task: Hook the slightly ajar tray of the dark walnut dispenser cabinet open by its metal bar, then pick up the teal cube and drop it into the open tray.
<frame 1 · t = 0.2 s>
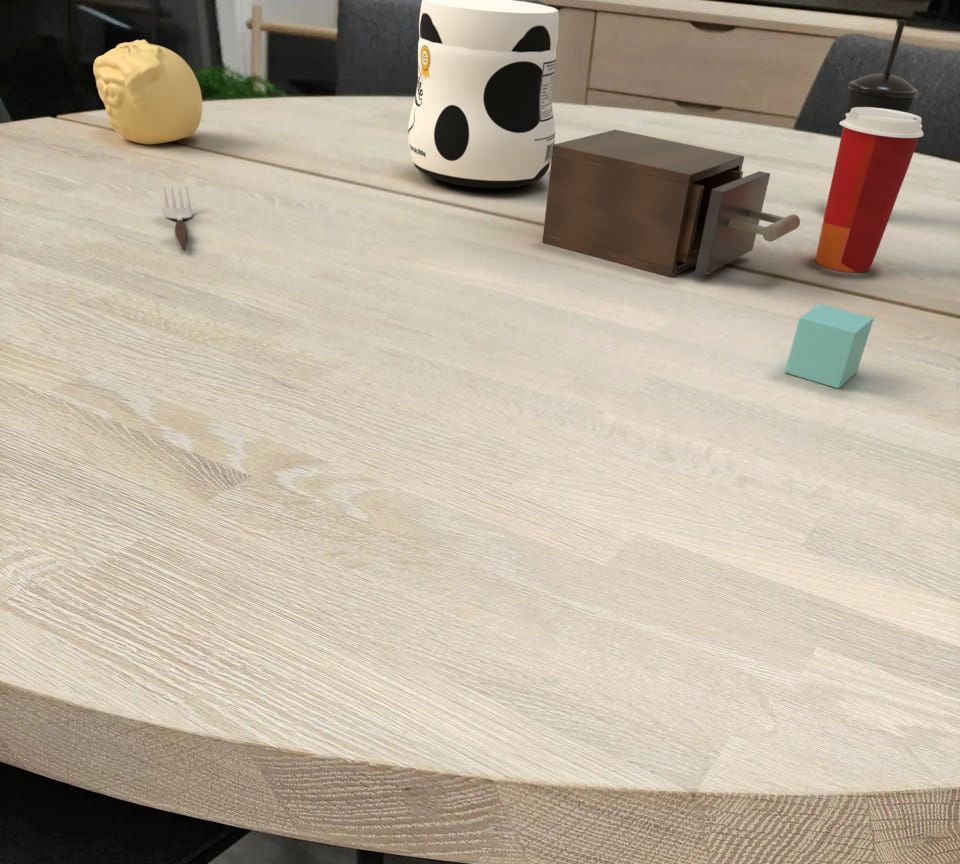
paper cup: (841, 265, 103), on the table
drinking cup: (847, 214, 121), on the table
sculpture: (155, 141, 124), on the table
fork: (181, 232, 95), on the table
milk container: (478, 181, 120), on the table
drawer: (698, 213, 97), point 5 cm above the table, slide at 2.0 cm
cabinet: (634, 246, 102), on the table
teal cube: (820, 372, 78), on the table
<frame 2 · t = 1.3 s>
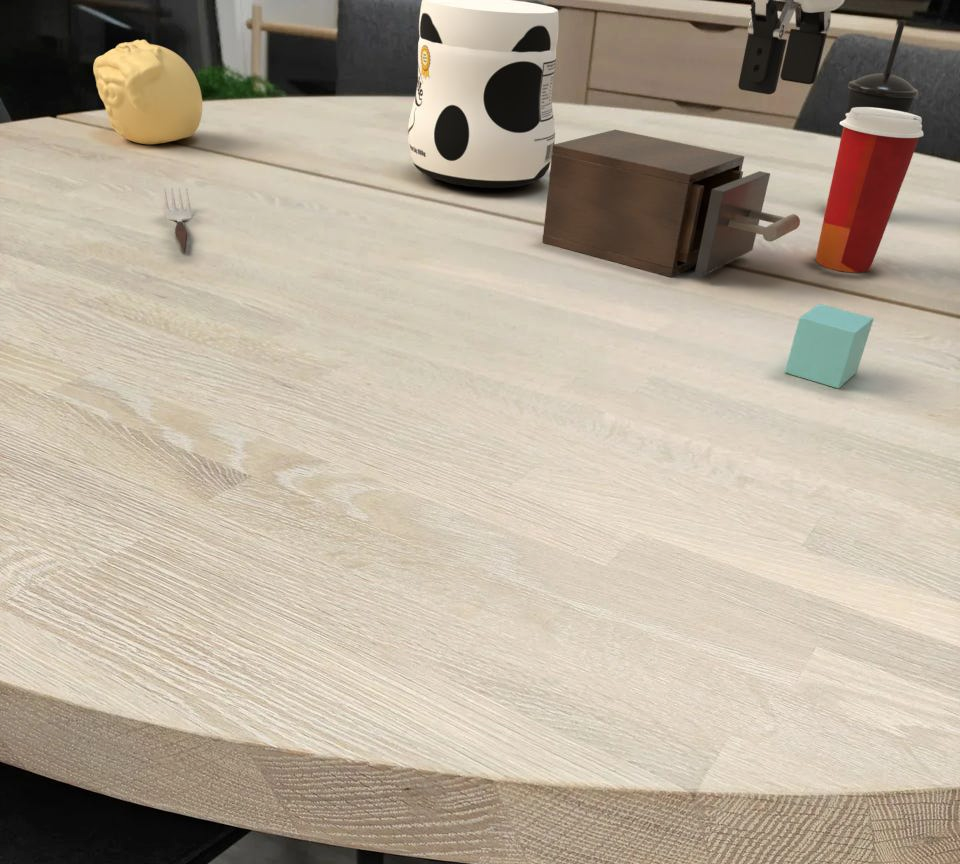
hand: (777, 86, 88), 16 cm above the table, tool pointing down, fingers open, 9 cm apart
nothing on the table moved.
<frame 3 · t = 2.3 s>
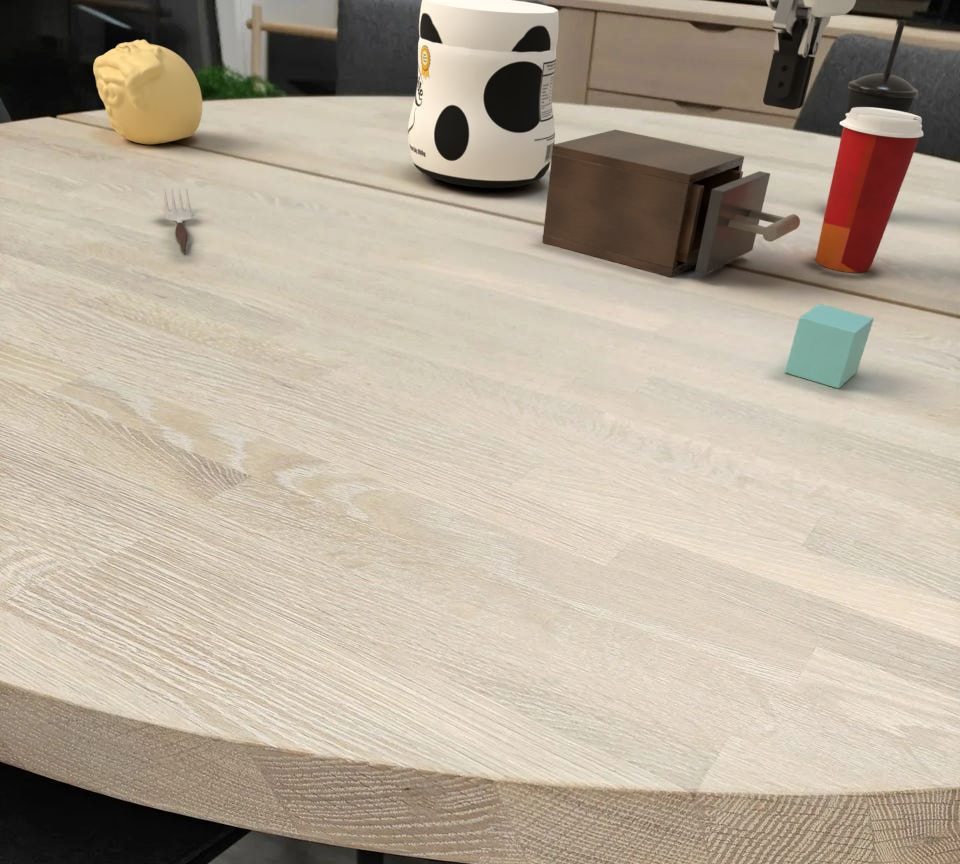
hand: (782, 105, 88), 15 cm above the table, tool pointing down, fingers closed
nothing on the table moved.
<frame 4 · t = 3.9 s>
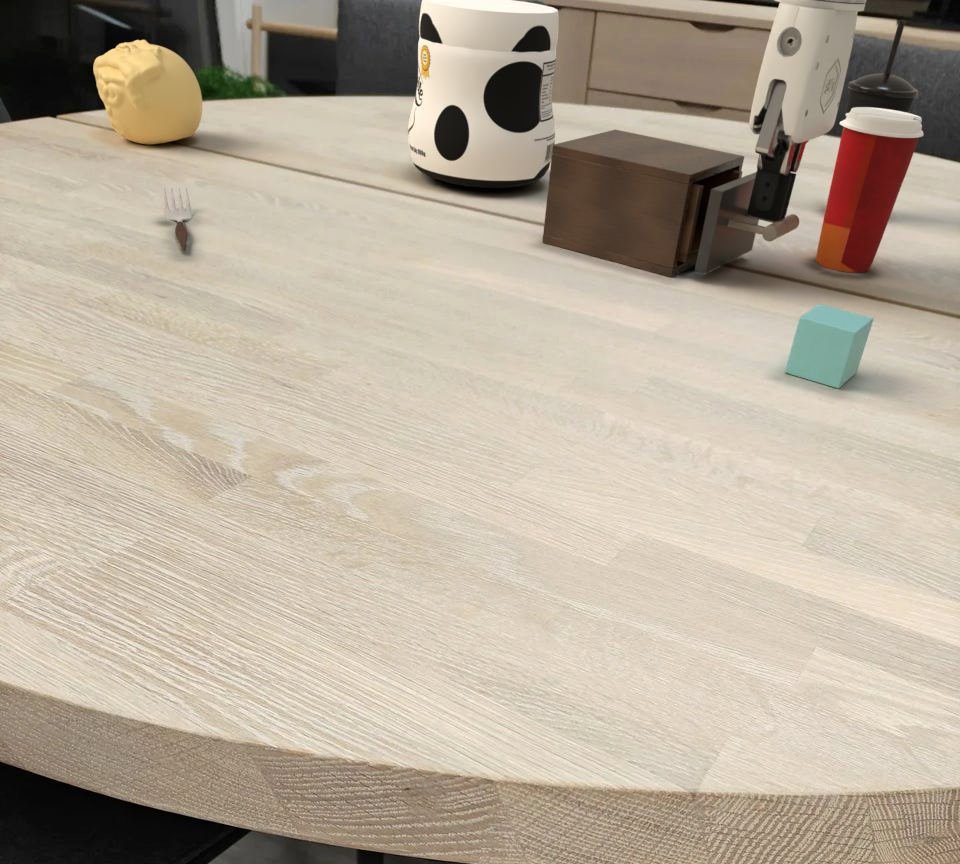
hand: (765, 216, 93), 6 cm above the table, tool pointing down, fingers closed
drawer: (697, 213, 97), point 5 cm above the table, slide at 1.9 cm, touching gripper
everything else where it was.
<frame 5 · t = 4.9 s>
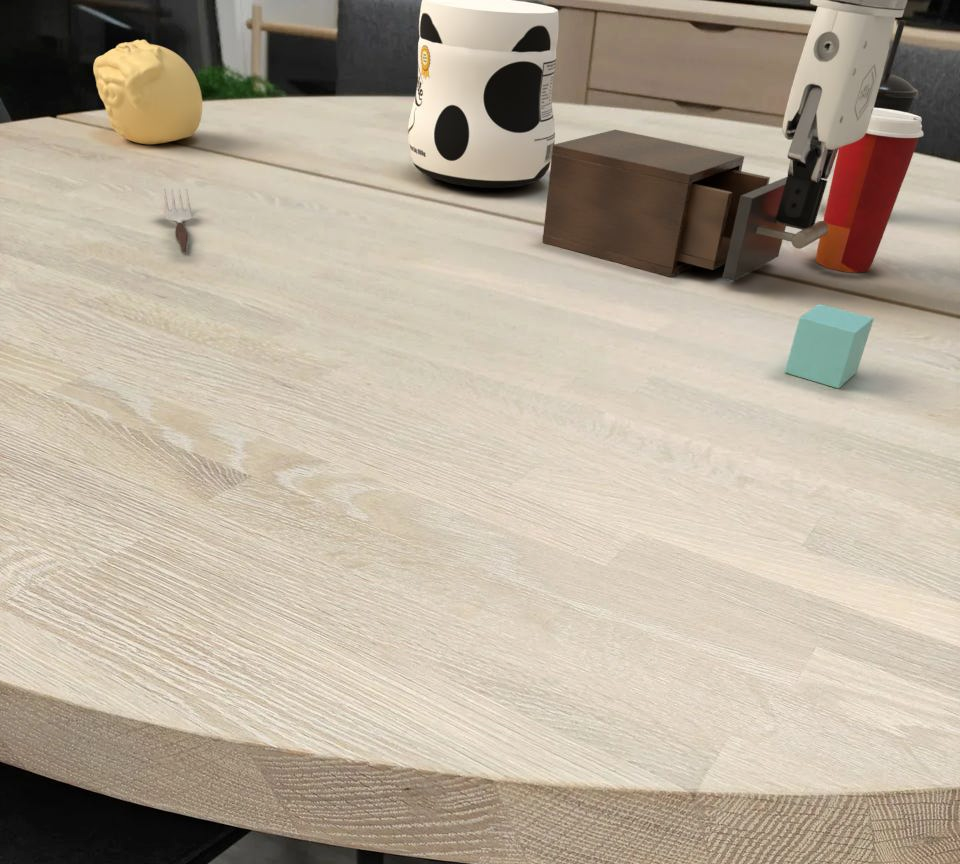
hand: (794, 223, 92), 6 cm above the table, tool pointing down, fingers closed
drawer: (724, 219, 96), point 5 cm above the table, slide at 4.8 cm, touching gripper
everything else where it was.
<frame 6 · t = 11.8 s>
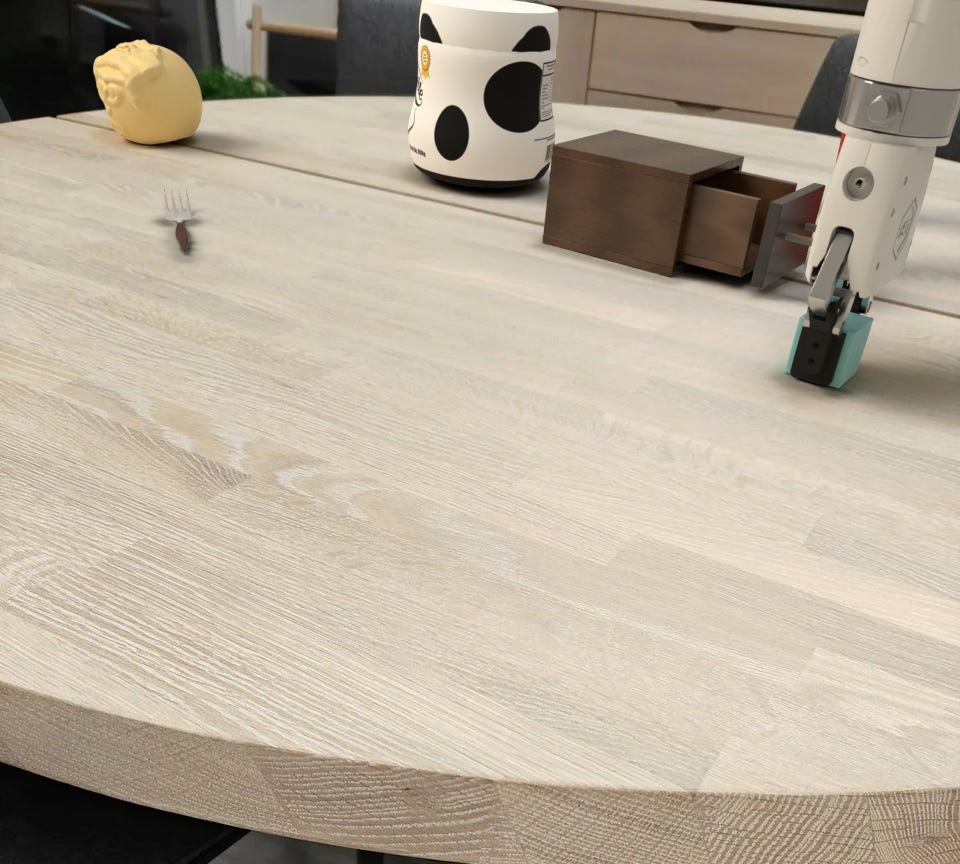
hand: (822, 368, 78), 0 cm above the table, tool pointing down, fingers closed on teal cube, 4 cm apart
drawer: (751, 225, 95), point 5 cm above the table, slide at 7.6 cm
teal cube: (820, 372, 78), on the table, touching gripper
everything else where it was.
when the fingers open (8 cm above the table, at t = 18.7 s): teal cube drops 5 cm, resting on drawer.
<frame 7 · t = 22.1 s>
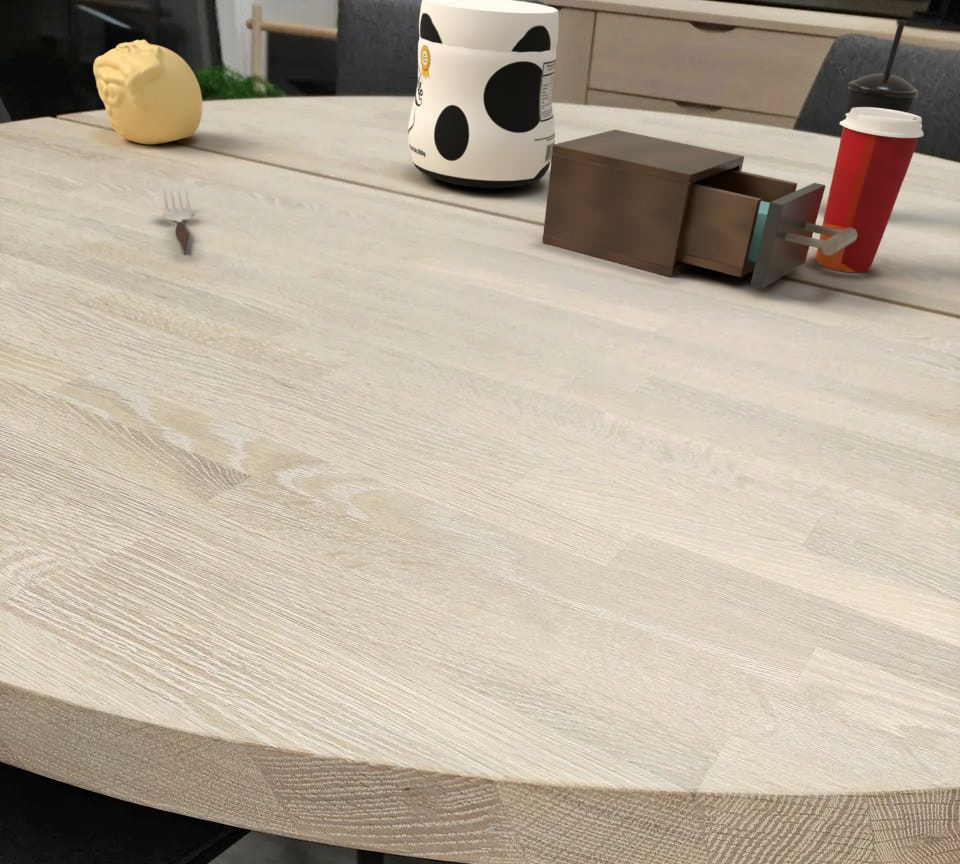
drawer: (751, 225, 95), point 5 cm above the table, slide at 7.6 cm, touching teal cube
teal cube: (743, 253, 96), point 2 cm above the table, touching drawer
everything else where it was.
at the end: drawer slide at 7.6 cm; teal cube inside the target area in the drawer (0.1 cm from its centre), point 2.0 cm above the cabinet's base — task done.
